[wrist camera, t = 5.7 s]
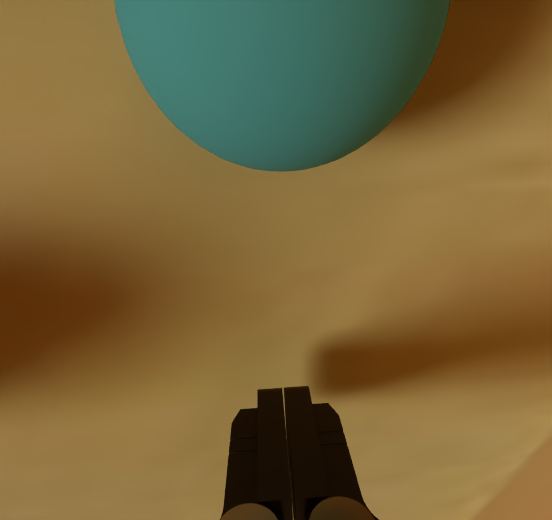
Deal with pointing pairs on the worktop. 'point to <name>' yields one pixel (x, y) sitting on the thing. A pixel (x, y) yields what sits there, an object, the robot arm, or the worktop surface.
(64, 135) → the worktop surface
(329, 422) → the robot arm
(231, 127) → the ball
